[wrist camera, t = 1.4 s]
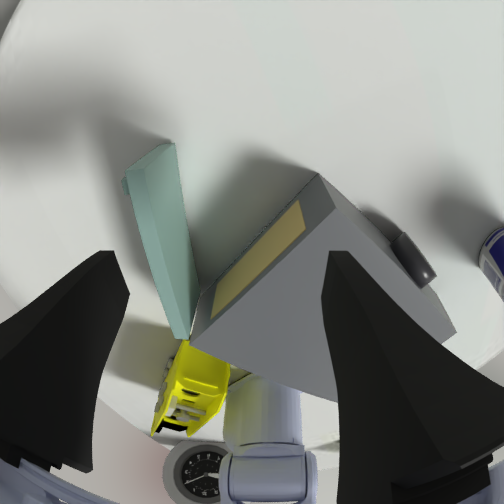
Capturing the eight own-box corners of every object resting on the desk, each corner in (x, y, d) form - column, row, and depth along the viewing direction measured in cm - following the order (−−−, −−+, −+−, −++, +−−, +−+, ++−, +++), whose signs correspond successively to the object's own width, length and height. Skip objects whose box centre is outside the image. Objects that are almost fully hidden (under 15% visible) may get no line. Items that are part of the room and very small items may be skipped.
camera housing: (333, 365, 29) (339, 403, 25) (199, 297, 23) (188, 344, 19) (447, 285, 22) (468, 322, 18) (332, 156, 16) (356, 186, 12)
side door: (200, 291, 22) (188, 339, 18) (181, 290, 23) (167, 337, 18) (174, 142, 16) (143, 168, 11) (151, 145, 16) (114, 172, 12)
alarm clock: (254, 442, 49) (250, 523, 33) (262, 449, 53) (259, 522, 37) (167, 438, 53) (155, 509, 36) (181, 447, 57) (172, 511, 40)
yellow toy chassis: (181, 327, 26) (162, 402, 19) (235, 345, 27) (227, 419, 21) (157, 386, 35) (145, 437, 28) (195, 397, 36) (187, 448, 29)
